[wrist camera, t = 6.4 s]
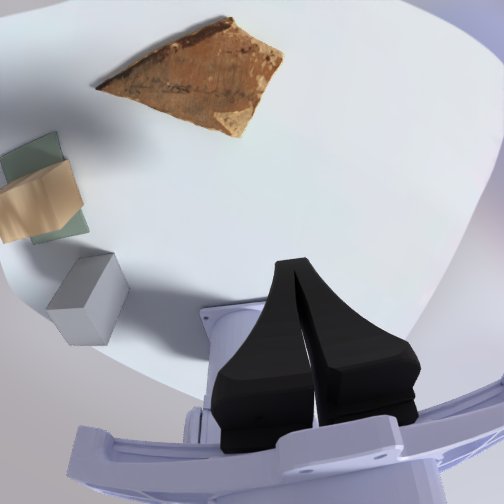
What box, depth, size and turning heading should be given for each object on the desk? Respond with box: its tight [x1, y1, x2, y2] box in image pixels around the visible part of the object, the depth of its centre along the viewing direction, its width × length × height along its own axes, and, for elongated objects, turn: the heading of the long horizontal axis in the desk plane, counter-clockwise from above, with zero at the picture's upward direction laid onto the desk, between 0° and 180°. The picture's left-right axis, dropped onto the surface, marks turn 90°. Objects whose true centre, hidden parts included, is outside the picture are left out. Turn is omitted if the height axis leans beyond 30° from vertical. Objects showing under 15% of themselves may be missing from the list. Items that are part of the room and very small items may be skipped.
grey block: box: [46, 253, 130, 346], centre depth 23 cm, size 4×4×7 cm
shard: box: [95, 17, 284, 138], centre depth 17 cm, size 11×8×2 cm
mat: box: [0, 131, 89, 245], centre depth 21 cm, size 9×7×1 cm
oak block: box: [0, 159, 84, 244], centre depth 19 cm, size 4×4×7 cm
